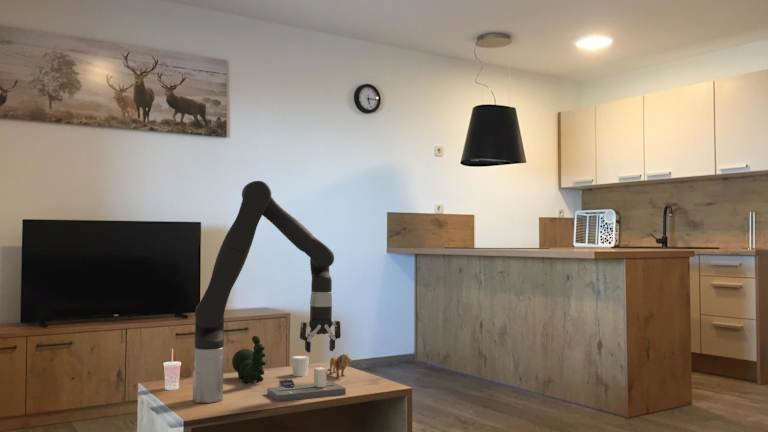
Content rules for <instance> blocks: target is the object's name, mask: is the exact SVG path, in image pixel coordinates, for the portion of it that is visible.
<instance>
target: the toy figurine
mask: <svg viewBox="0 0 768 432" xmlns="http://www.w3.org/2000/svg"><path fill="white" fill-rule="evenodd" d="M251 341H252V343H253V344H254V346H253V350H251V349H249V348H241V349H239V350H237V352H235V353H234V354H233V357H232V359H231V364H232V368H233V369H234V370H235V372H237V376H238V380H241V381H242V383H243V384H247V383H253V382H254V383H255V382H257V383H259V382H263V381H264V377H263V376H264V375H265V370H264V366H266V361H264V358H265V357H266V353H265V352H264V351H265V348H266V347H265V346H264V345H263V344H262V343H261V339H260V337H259V336H257V335H253V336H251ZM262 375H263V376H262Z"/></svg>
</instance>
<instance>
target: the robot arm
mask: <svg viewBox="0 0 768 432" xmlns="http://www.w3.org/2000/svg"><path fill="white" fill-rule="evenodd" d="M241 198H242V199H241V200H242V201H241V203H240V206H239V211H238V213H237V216H236V218H235V220H234V222H233V223H232V224H231V227H230V228H229V230H228V231H227V233H226V235H225V237H224V239H223V240H222V243H221V246H220V248H219V250H218V253H217V256H216V258H215V262H214V265H213V269H212V271H211V272H212V273H211V277H210V280H209V283H208V286H207V288H206V290H205V292H204V294H203V296H202V298H201V300H200V301H199V302H198V304H197V306H196V307H195V311H194V317H195V320H194V321H195V325H194V326H195V329H194V330H195V331H194V332H195V333H194V370H192V400H193V401H194V402H195V403H196V404H200V403H201V404H202V403H203V404H209V403H217V402H221V401H222V400H223V399H224V341H225V339H224V338H225V337H224V335H225V333H224V332H225V331H224V330H225V329H224V328H225V326H224V325H225V321H224V320H225V311H226V307H227V303H228V300H229V297H230V293H231V292H232V291H231V290H232V289H233V287H234V285H235V283H236V281H237V280H238V278H239V276H240V274H241V272H242V271H243V268H244V265H245V262H246V260H247V259H248V255H249V253H250V250H251V247H252V244H253V241H254V238H255V235H256V231H257V228H258V225H259V222H260V220H261V218H262V216H263V217H264V218H265V219H266V220H268V221H269V222H270V224H273V226H274V227H275V228H276V229H277V230H278V231H279V232H280V233H281V234H283V236H285V238H286V239H287V240H289V242H290V243H291V244H292V245H294V246H295V247H296V248H297V249H298V250H300V251H301V252H303V253H304V254H306V255H307V256H308V257H309V259H310V260H309V262H310V263H309V265H310V273H311V285H310V286H311V290H310V291H311V292H310V301H309V306H310V307H309V308H310V309H309V321H308V322H305V321H301V322H300V331H299V332H300V333H299V339H300V340H303V341H304V350H305V351H306V352H307V353H311V351H312V350H311V348H312V347H311V345H312V342H311V340H312V339H313V338H314V337H315V336H316V335H327V336H328V338H329V345H328V347H329V348H328V349H329V352H334V350H335V349H336V340H337V339H341V336H342V334H341V321H339V320H334V321H332V317H333V316H332V315H333V313H332V312H333V295H332V287H333V286H332V284H333V283H332V282H333V281H332V276H331V274H330V266H332V265H333V264H334V261H335V255H334V254H335V253H333V251H332V249H330V248H329V246H327V245H326V244H324V242H322V241H320V239H318V238H316V237H315V236H314V235H313V234H312V233H311V231H310V230H309V229H308V228H306V227H305V225H303V224H302V223H301V222H300V221H299V220H298V219H296V218H295V217H293V216H292V215H291V214H290V213H288V212H287V211H286V210H285V209H284V208H282V207H281V206H280V205H279V203H277V202H276V201H275V199H274V198H273V197H272V190H271V188H270V186H269V185H268V183H266V182H264V181H261V180H255V181H249V183H246V185H244V187H243V189H242V191H241ZM332 326H333V328H334V333H333V331H332V329H331V328H332ZM308 327H309V328H310V329H309V331H308V332H307V329H308Z"/></svg>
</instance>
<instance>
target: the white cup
mask: <svg viewBox="0 0 768 432" xmlns="http://www.w3.org/2000/svg"><path fill="white" fill-rule="evenodd" d="M309 361H310V357H309V356H308V355H293V356H291V365H292V376H294V377H305V376H308V370H309Z"/></svg>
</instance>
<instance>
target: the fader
mask: <svg viewBox="0 0 768 432" xmlns="http://www.w3.org/2000/svg"><path fill="white" fill-rule="evenodd" d="M326 382H327V369H326V368H325V367H321V366H320V367H314V368H313V383H314V386H316V387H326Z"/></svg>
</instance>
